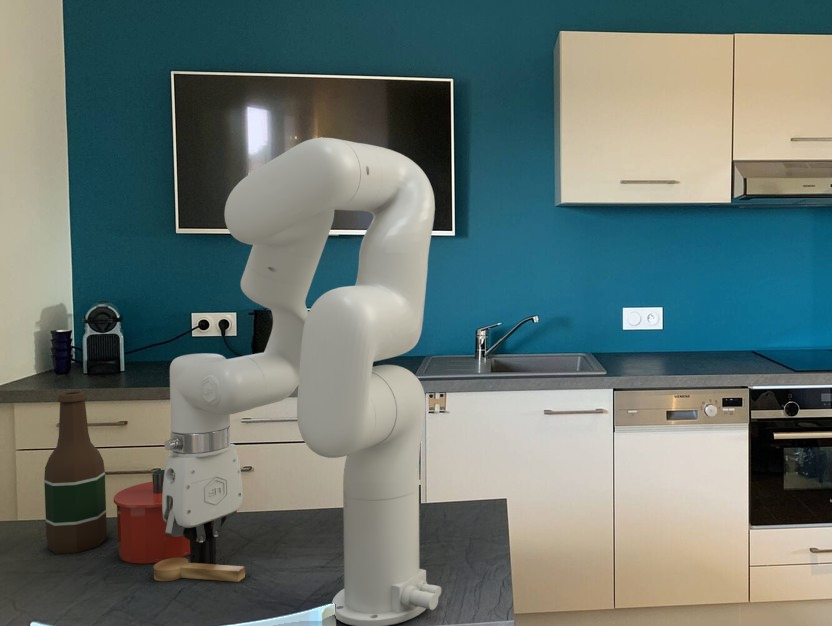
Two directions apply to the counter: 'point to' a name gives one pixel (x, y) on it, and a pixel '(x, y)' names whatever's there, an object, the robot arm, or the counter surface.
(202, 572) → the spoon
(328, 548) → the counter surface
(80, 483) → the beer bottle
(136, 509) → the pot
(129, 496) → the pot lid
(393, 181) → the robot arm
